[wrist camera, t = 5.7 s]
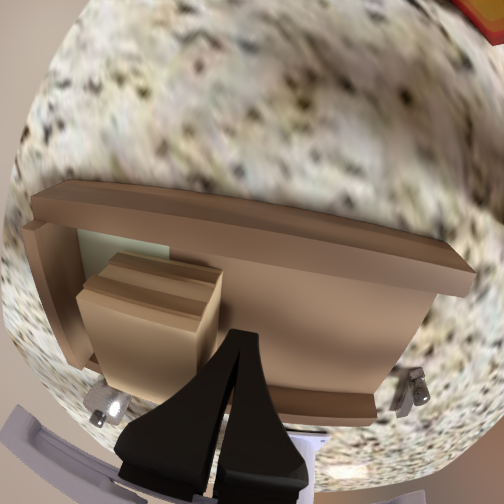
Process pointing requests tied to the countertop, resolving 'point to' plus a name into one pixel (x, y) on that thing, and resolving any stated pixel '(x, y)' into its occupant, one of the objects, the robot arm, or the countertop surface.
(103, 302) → the tan wooden block
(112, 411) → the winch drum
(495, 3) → the baking soda box
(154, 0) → the countertop surface
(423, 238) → the bay
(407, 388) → the crank handle
